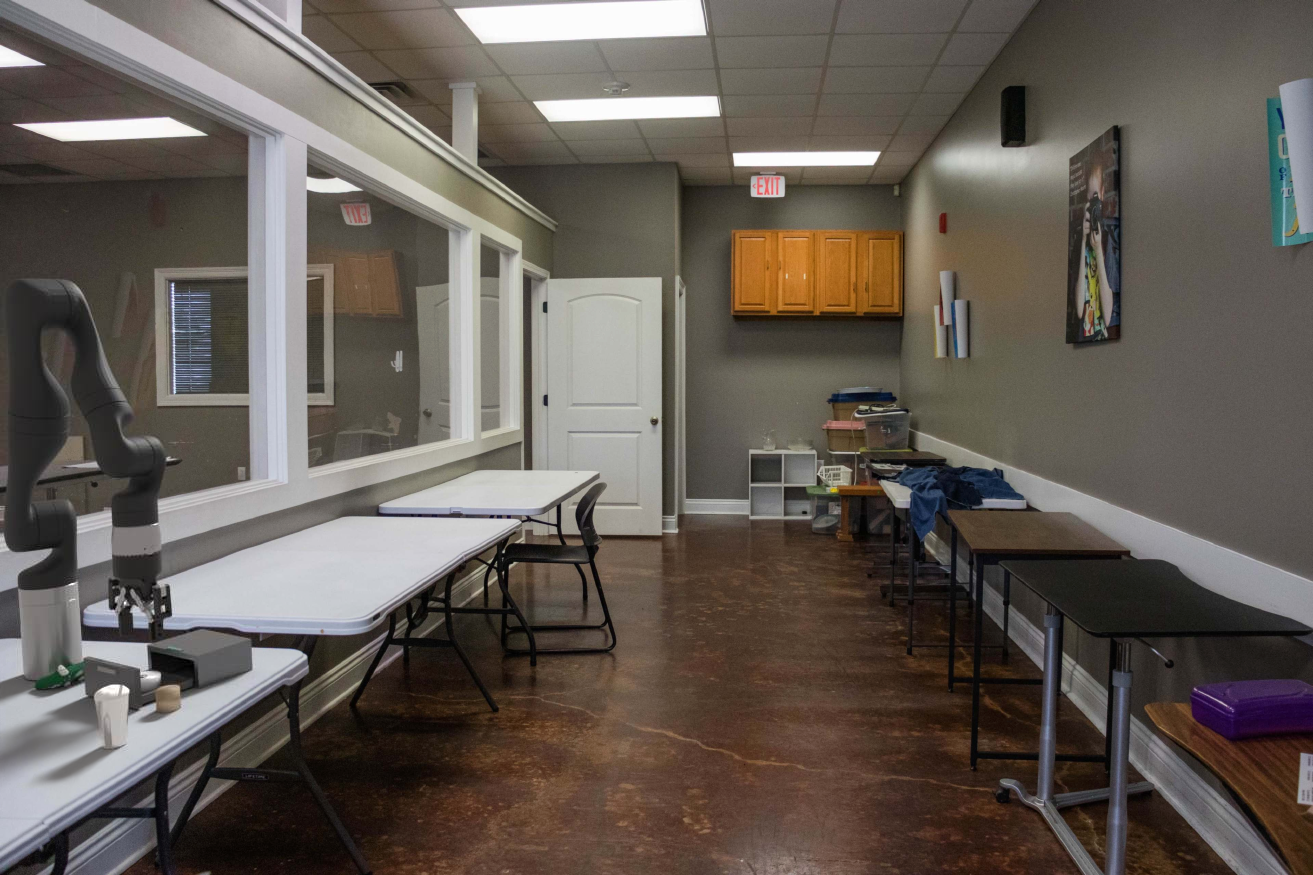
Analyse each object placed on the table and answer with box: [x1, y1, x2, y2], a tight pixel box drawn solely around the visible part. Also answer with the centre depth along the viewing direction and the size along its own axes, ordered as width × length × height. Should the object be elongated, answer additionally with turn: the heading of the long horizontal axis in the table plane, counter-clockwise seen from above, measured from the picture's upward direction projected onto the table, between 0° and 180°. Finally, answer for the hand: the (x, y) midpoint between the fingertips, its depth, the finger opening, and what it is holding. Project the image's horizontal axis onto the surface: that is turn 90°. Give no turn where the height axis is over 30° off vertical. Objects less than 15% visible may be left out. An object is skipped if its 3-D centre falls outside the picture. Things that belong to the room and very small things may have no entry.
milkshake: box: [93, 685, 130, 750], centre depth 129 cm, size 4×5×10 cm
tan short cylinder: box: [155, 685, 182, 714], centre depth 143 cm, size 4×4×4 cm
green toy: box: [34, 655, 90, 690], centre depth 156 cm, size 9×4×6 cm
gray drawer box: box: [146, 628, 253, 689], centre depth 160 cm, size 11×15×6 cm
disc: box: [140, 670, 161, 693], centre depth 151 cm, size 6×6×2 cm
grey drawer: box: [83, 655, 194, 710], centre depth 150 cm, size 11×15×7 cm
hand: (141, 637), depth 151 cm, fingers open, 8 cm apart
